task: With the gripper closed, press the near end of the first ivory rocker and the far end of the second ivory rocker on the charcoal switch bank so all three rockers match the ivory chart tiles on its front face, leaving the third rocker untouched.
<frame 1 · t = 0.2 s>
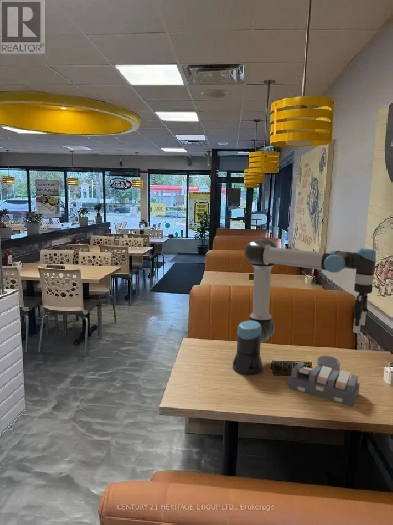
hand: (359, 328, 175), 27 cm above the table, fingers open, 13 cm apart
switch bank: (322, 390, 172), on the table
rocker 1: (306, 370, 175), point 8 cm above the table, hinge at -17.0°
rocker 2: (324, 375, 171), point 8 cm above the table, hinge at 17.0°
teacup: (326, 373, 190), on the table
rocker 3: (342, 379, 167), point 8 cm above the table, hinge at 17.0°
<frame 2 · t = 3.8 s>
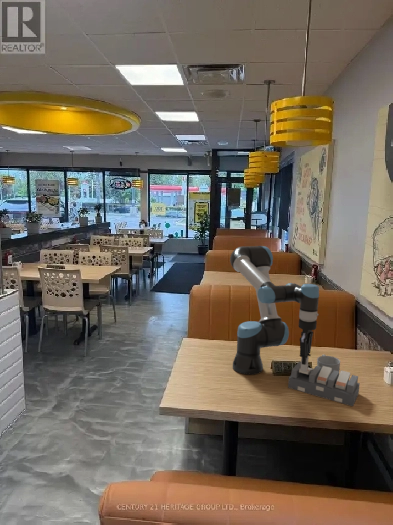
hand: (304, 370, 171), 9 cm above the table, fingers closed
rocker 1: (306, 370, 175), point 8 cm above the table, hinge at -16.2°, touching gripper
everything else where it was.
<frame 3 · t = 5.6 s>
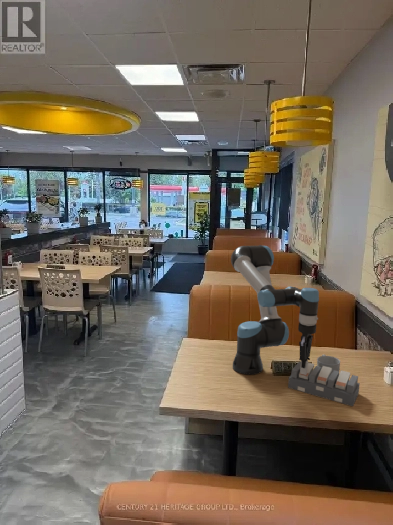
hand: (303, 373, 171), 8 cm above the table, fingers closed
rocker 1: (306, 370, 175), point 8 cm above the table, hinge at 14.6°
everything else where it was.
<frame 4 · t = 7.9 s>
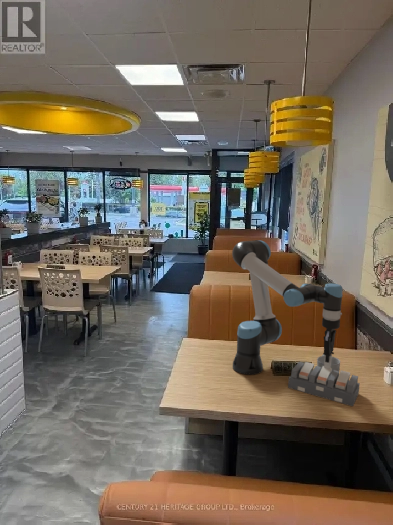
hand: (327, 367, 175), 9 cm above the table, fingers closed, pressing on rocker 2
rocker 1: (306, 370, 175), point 8 cm above the table, hinge at 15.1°
rocker 2: (324, 375, 171), point 8 cm above the table, hinge at 15.8°, touching gripper
everything else where it was.
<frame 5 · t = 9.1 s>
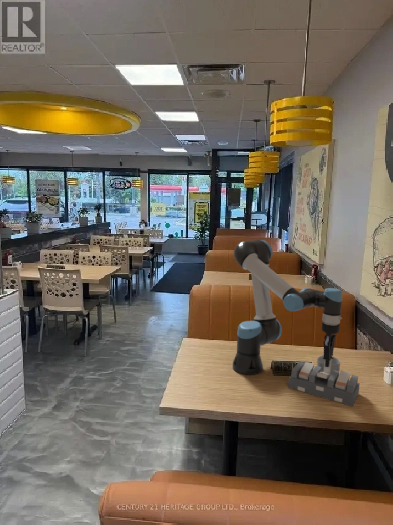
hand: (327, 372, 175), 7 cm above the table, fingers closed
rocker 2: (324, 374, 171), point 8 cm above the table, hinge at -18.4°, touching gripper
everything else where it was.
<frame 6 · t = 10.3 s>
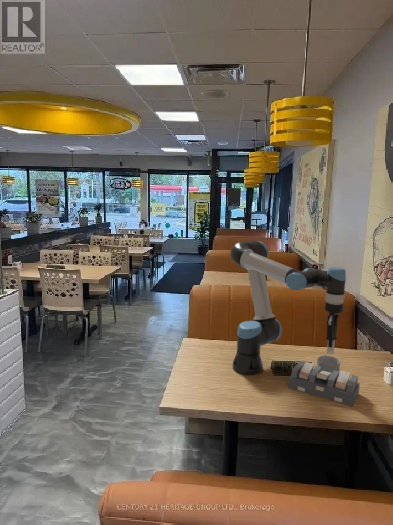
hand: (330, 353, 173), 17 cm above the table, fingers closed
rocker 2: (324, 374, 171), point 8 cm above the table, hinge at -12.9°
everything else where it was.
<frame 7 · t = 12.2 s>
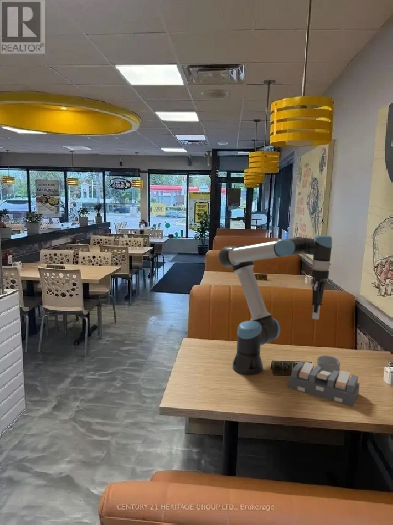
hand: (315, 318, 179), 30 cm above the table, fingers closed
rocker 2: (324, 374, 171), point 8 cm above the table, hinge at -12.2°
everything else where it was.
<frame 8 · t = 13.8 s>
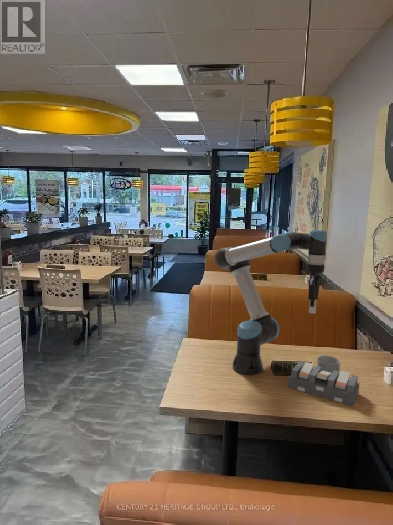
hand: (312, 312, 180), 32 cm above the table, fingers closed
nothing on the table moved.
at the end: rocker 1 at +15° (first picture: -17°); rocker 2 at -12° (first picture: +17°); rocker 3 at +17° (first picture: +17°) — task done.
